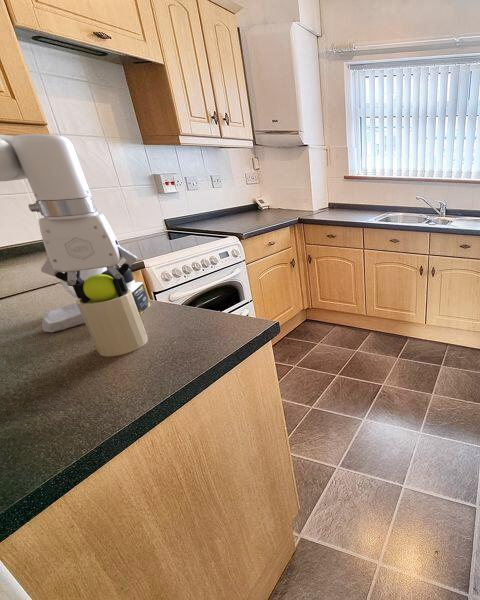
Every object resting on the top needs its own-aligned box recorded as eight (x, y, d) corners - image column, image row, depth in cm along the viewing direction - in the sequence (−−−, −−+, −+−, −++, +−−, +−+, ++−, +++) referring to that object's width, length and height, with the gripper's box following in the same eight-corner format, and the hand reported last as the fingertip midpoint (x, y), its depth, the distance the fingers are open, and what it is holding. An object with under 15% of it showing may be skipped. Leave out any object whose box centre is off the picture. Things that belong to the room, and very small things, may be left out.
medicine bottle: (141, 316, 88) (125, 272, 83) (108, 320, 86) (90, 275, 81) (151, 305, 94) (136, 264, 89) (121, 308, 92) (105, 266, 87)
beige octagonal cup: (93, 360, 69) (69, 307, 64) (104, 341, 76) (83, 292, 71) (144, 349, 73) (125, 299, 68) (150, 332, 80) (134, 285, 75)
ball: (85, 308, 66) (73, 281, 64) (93, 298, 71) (82, 273, 69) (120, 302, 69) (110, 277, 66) (125, 293, 73) (116, 269, 71)
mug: (117, 295, 101) (102, 256, 96) (119, 301, 96) (103, 261, 91) (72, 304, 95) (54, 263, 90) (72, 312, 90) (52, 269, 85)
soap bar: (58, 344, 81) (41, 330, 77) (47, 332, 84) (29, 317, 79) (103, 318, 87) (89, 304, 83) (91, 307, 89) (76, 292, 85)
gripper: (-5, 215, 56) (43, 313, 63) (121, 207, 63) (152, 296, 70) (16, 209, 62) (58, 299, 69) (129, 202, 69) (156, 284, 76)
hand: (105, 297), depth 70 cm, fingers closed on ball, 5 cm apart
